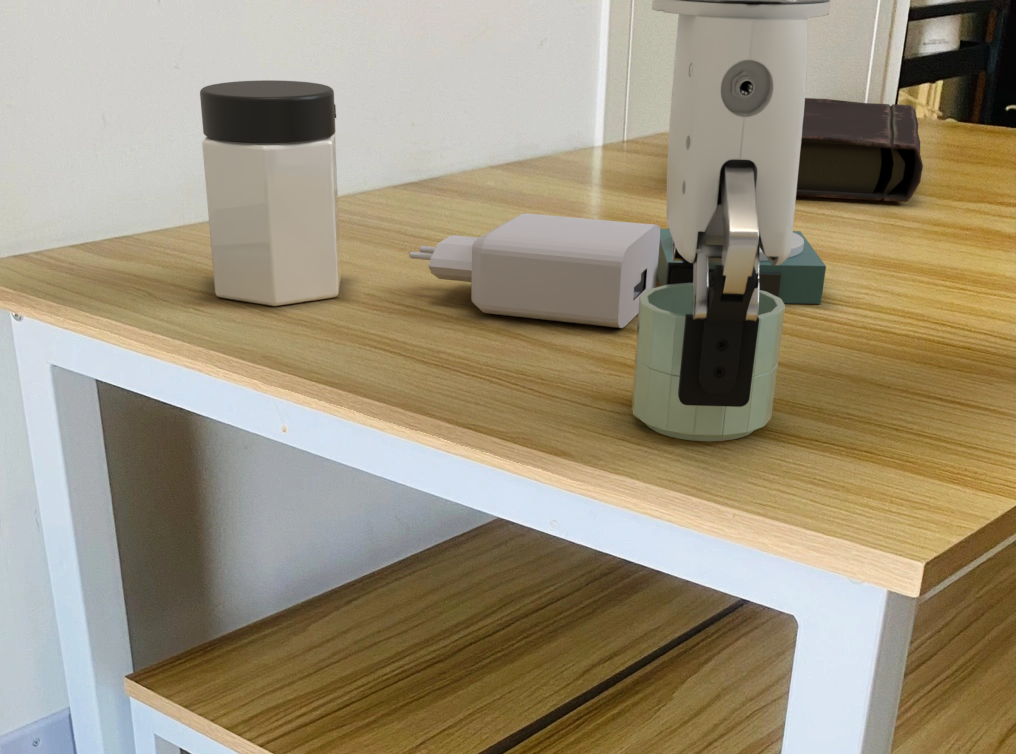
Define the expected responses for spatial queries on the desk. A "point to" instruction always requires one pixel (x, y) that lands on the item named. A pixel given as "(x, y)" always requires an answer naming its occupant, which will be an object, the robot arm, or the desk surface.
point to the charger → (554, 268)
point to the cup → (663, 362)
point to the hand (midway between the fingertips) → (702, 371)
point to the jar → (272, 190)
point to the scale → (772, 271)
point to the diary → (859, 151)
